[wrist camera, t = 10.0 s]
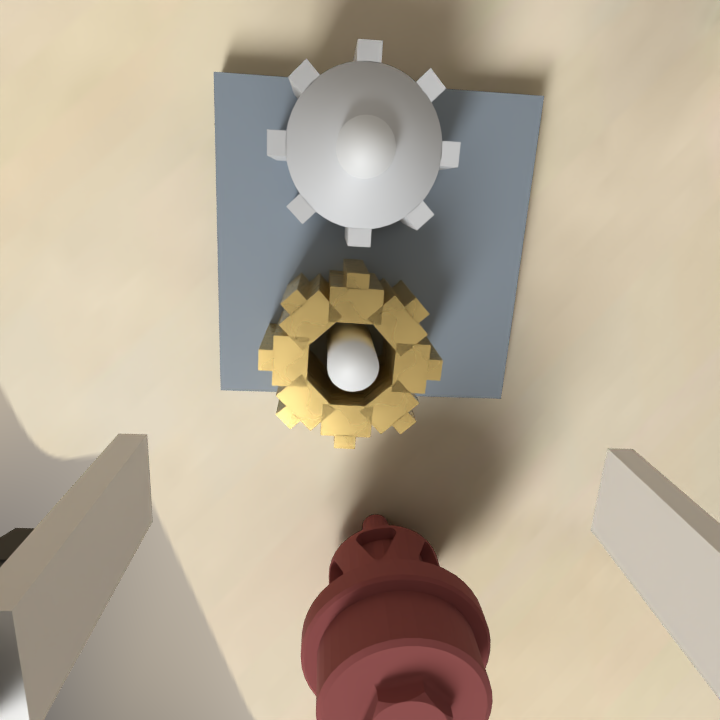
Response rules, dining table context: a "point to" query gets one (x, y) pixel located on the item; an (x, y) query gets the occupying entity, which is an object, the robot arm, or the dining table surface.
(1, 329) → the dining table surface
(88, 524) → the robot arm
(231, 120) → the gear board
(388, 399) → the brass gear
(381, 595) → the mechanical component
